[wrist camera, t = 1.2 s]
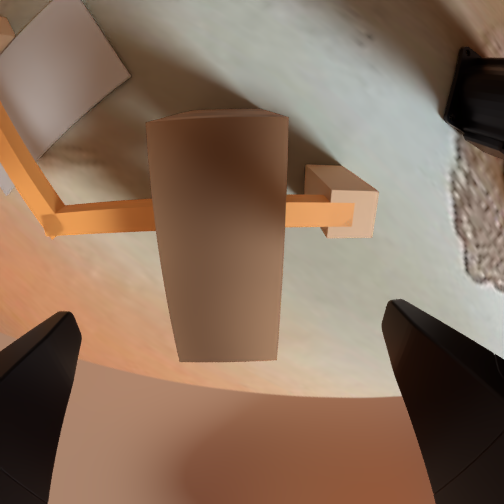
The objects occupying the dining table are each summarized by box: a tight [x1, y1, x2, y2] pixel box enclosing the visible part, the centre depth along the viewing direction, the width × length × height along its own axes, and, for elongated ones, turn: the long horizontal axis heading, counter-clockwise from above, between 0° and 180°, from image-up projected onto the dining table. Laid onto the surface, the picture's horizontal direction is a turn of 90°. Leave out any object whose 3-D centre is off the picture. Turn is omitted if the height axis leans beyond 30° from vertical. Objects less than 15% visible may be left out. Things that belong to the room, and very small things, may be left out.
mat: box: [0, 0, 131, 196], centre depth 15 cm, size 9×13×1 cm
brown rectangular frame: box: [146, 109, 289, 362], centre depth 15 cm, size 4×9×10 cm, turn 0°
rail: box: [0, 17, 379, 240], centre depth 14 cm, size 13×28×6 cm, turn 75°
